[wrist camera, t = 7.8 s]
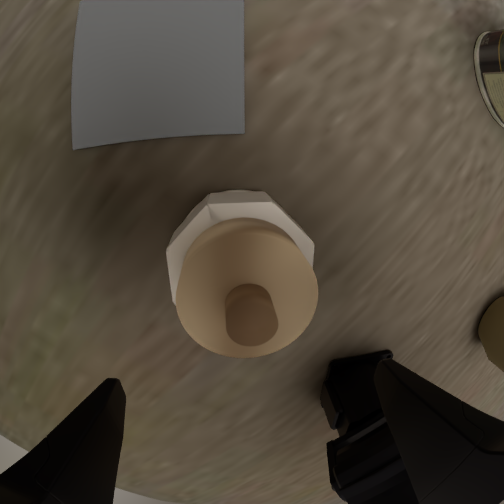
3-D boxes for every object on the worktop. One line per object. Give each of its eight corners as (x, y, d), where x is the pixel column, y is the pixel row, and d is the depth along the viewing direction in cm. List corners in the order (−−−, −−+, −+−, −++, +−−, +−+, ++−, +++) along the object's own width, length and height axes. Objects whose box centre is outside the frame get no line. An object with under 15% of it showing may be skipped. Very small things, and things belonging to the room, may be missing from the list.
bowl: (298, 187, 19) (316, 201, 15) (293, 296, 22) (306, 328, 18) (173, 192, 18) (161, 206, 15) (184, 302, 21) (178, 335, 18)
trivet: (243, -18, 13) (244, -22, 13) (243, 133, 17) (244, 133, 17) (83, 4, 12) (80, 1, 12) (76, 149, 16) (72, 150, 16)
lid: (306, 214, 16) (338, 246, 11) (300, 322, 18) (321, 373, 14) (175, 221, 15) (159, 255, 11) (189, 330, 18) (183, 385, 13)
